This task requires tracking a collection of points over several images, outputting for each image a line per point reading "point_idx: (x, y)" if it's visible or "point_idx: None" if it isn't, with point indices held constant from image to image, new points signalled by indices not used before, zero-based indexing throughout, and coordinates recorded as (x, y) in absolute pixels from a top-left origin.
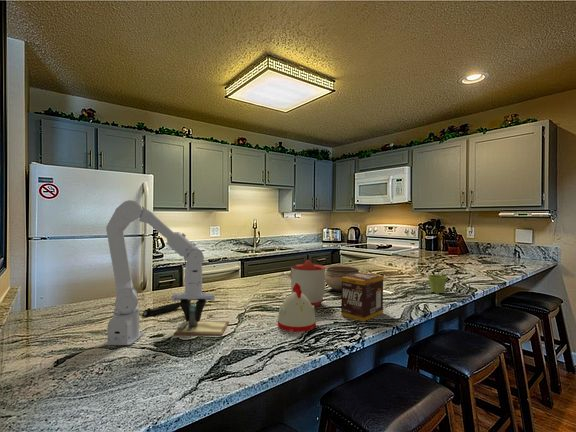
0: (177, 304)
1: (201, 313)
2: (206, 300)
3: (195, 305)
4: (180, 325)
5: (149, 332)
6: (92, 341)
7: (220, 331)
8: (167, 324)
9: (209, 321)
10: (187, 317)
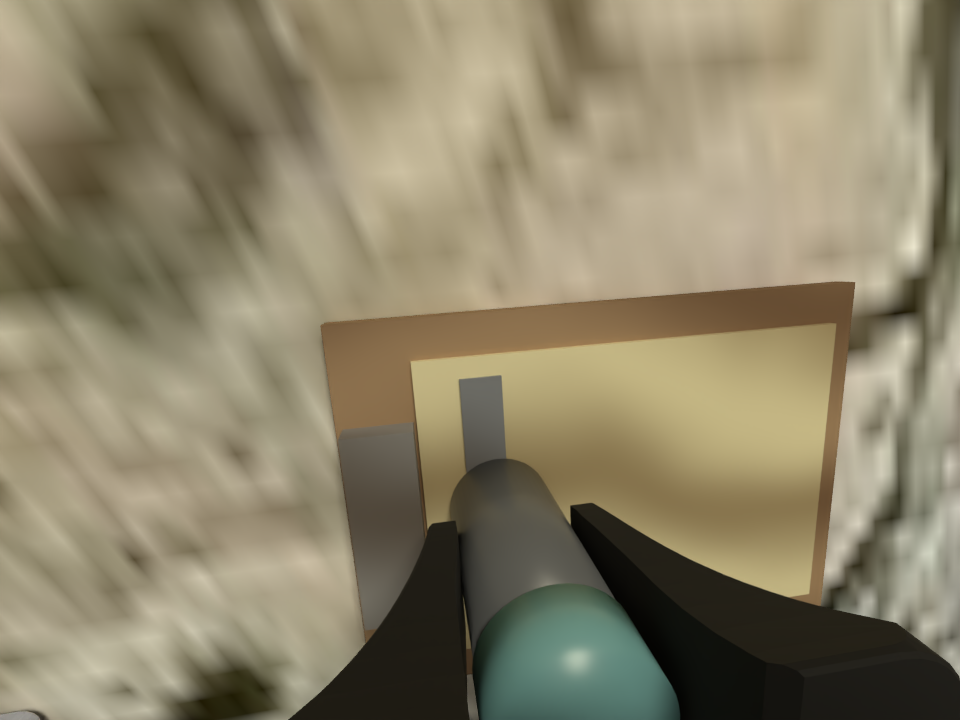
0: None
1: (646, 538)
2: (951, 714)
3: (616, 706)
4: (365, 565)
5: (68, 658)
6: None
7: (805, 590)
8: (116, 408)
9: (635, 313)
10: (465, 651)
